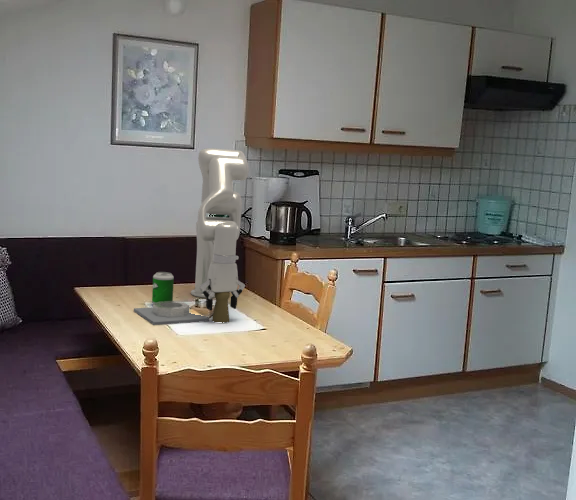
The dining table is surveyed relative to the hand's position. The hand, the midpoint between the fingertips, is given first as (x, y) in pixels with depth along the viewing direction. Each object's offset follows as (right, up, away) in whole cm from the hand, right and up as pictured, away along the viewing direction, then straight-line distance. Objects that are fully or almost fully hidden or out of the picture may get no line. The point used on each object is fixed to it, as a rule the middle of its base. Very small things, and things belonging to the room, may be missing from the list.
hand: (221, 308), depth 246 cm
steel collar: (-18, -3, +3) cm, 18 cm away
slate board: (-18, -3, +3) cm, 18 cm away
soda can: (-24, 0, +18) cm, 30 cm away
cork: (0, -5, +1) cm, 5 cm away
